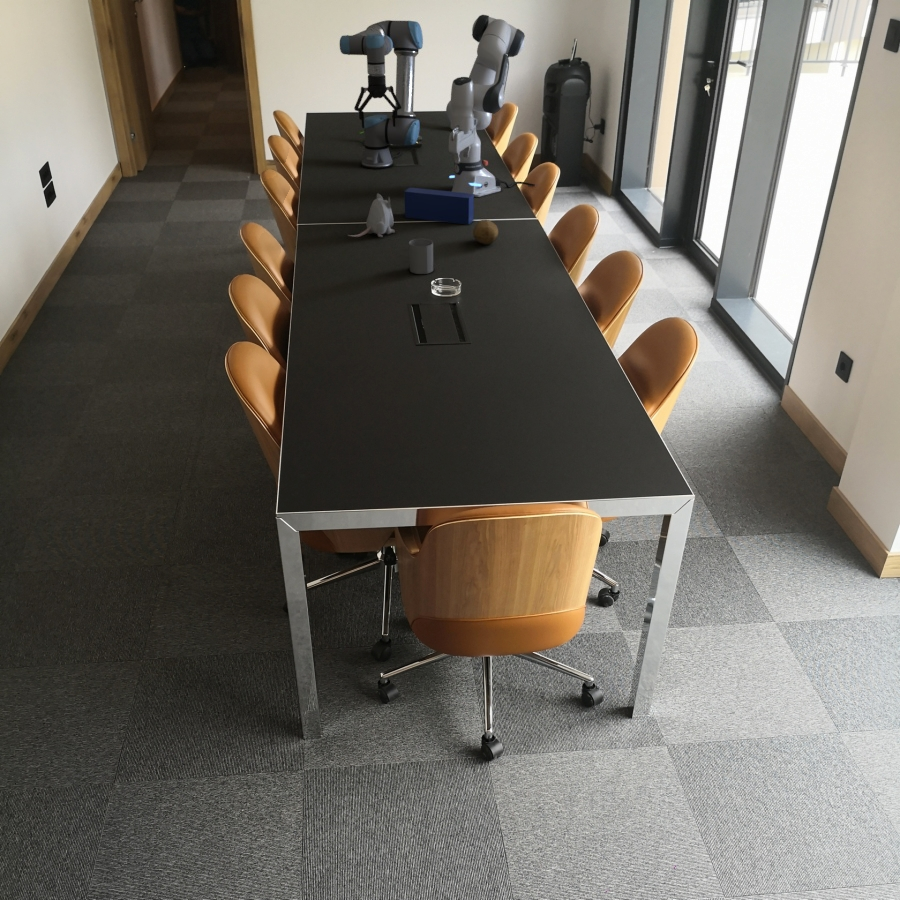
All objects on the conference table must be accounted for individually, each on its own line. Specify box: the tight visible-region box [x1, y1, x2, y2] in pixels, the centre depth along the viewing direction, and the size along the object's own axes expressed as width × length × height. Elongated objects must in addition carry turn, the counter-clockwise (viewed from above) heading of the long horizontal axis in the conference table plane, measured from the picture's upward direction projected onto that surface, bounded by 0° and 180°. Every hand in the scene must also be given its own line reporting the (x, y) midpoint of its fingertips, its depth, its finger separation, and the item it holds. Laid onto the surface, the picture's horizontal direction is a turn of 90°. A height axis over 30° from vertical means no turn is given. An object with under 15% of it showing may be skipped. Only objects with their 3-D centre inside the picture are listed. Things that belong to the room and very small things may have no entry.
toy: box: [347, 192, 396, 238], centre depth 333 cm, size 9×24×15 cm, turn 137°
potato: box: [472, 219, 499, 245], centre depth 330 cm, size 10×14×8 cm
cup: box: [408, 237, 434, 275], centre depth 305 cm, size 8×8×10 cm
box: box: [403, 186, 475, 226], centre depth 354 cm, size 28×6×11 cm, turn 70°
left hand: (378, 126), depth 379 cm, fingers open, 13 cm apart
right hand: (461, 160), depth 341 cm, fingers open, 8 cm apart
